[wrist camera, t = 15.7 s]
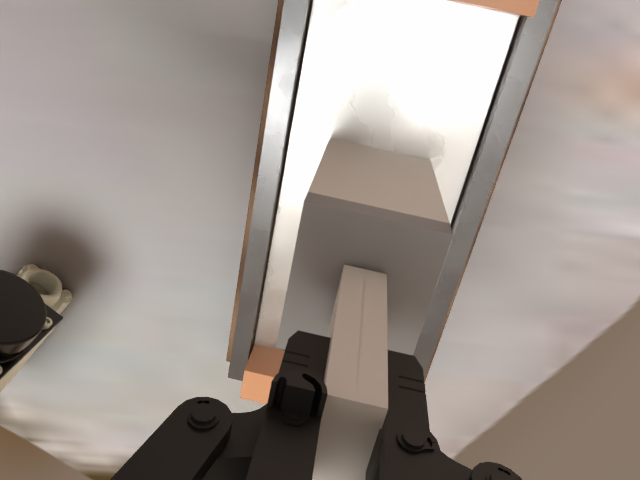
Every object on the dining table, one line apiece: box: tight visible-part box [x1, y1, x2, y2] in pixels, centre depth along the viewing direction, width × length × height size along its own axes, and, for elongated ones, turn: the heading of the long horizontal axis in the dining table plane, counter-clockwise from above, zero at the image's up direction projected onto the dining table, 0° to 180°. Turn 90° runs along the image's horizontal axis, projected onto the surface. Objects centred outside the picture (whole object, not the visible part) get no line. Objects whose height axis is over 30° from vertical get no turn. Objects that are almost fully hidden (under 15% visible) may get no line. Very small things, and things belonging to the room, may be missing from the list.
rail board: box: [226, 0, 562, 404], centre depth 26 cm, size 24×12×4 cm, turn 169°
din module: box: [276, 138, 453, 355], centre depth 22 cm, size 6×5×9 cm
